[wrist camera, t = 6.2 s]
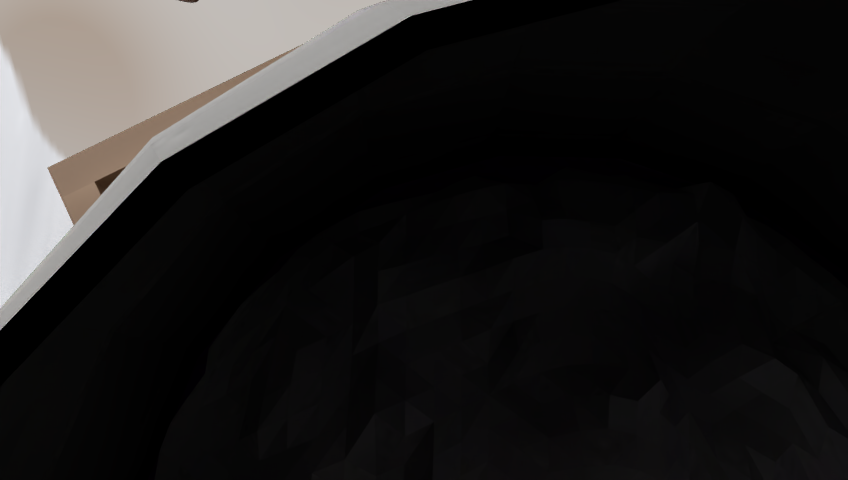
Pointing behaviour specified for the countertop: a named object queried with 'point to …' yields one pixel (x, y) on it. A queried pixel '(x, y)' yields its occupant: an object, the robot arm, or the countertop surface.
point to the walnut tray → (124, 150)
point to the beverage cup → (466, 260)
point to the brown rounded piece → (189, 0)
